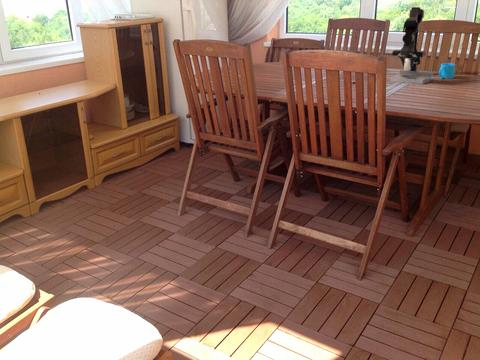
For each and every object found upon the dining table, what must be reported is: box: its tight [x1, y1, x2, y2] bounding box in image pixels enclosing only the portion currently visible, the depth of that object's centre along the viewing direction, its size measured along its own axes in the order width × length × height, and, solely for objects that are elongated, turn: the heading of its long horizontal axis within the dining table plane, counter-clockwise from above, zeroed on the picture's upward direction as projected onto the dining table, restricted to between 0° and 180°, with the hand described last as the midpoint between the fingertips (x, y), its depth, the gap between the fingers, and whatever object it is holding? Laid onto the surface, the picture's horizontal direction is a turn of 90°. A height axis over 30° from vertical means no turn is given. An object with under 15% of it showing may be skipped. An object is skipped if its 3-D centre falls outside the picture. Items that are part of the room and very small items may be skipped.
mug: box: [438, 62, 456, 79], centre depth 309 cm, size 12×8×8 cm
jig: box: [390, 69, 434, 85], centre depth 306 cm, size 16×20×4 cm
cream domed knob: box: [403, 58, 411, 71], centre depth 305 cm, size 4×4×7 cm
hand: (407, 67), depth 306 cm, fingers closed on cream domed knob, 4 cm apart
